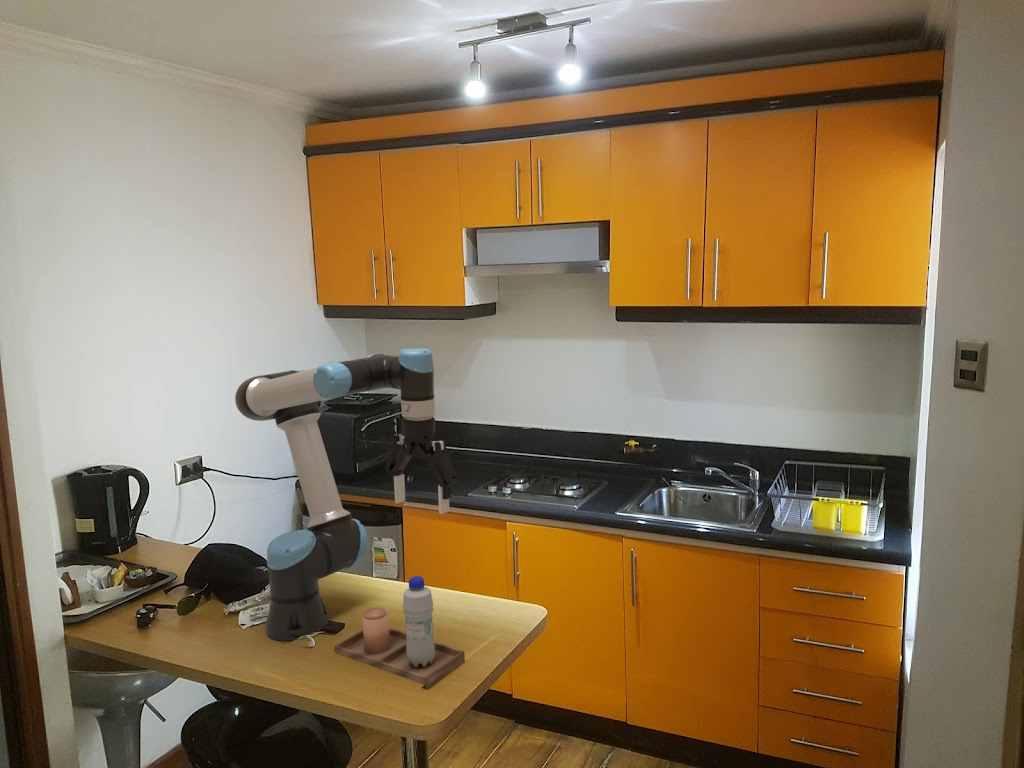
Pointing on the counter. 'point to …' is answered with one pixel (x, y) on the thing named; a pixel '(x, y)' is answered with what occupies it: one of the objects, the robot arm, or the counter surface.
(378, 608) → the jar
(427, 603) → the bottle
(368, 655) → the caddy
